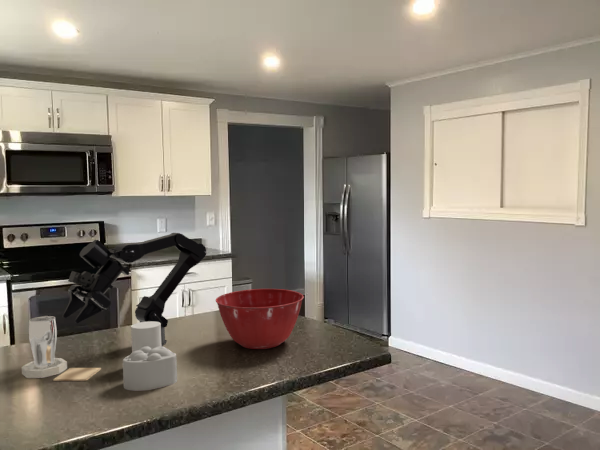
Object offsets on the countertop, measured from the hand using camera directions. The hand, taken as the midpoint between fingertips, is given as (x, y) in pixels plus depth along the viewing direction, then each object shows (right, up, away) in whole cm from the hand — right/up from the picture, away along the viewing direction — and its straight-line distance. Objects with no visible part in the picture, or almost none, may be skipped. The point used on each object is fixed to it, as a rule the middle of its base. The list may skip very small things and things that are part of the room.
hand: (69, 319), depth 149 cm
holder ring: (-5, -14, -4) cm, 15 cm away
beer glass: (-5, -14, -4) cm, 15 cm away
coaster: (+6, -14, -8) cm, 17 cm away
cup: (+23, -13, -2) cm, 27 cm away
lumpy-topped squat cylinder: (+28, -14, -15) cm, 34 cm away
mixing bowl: (+54, -11, +19) cm, 58 cm away
